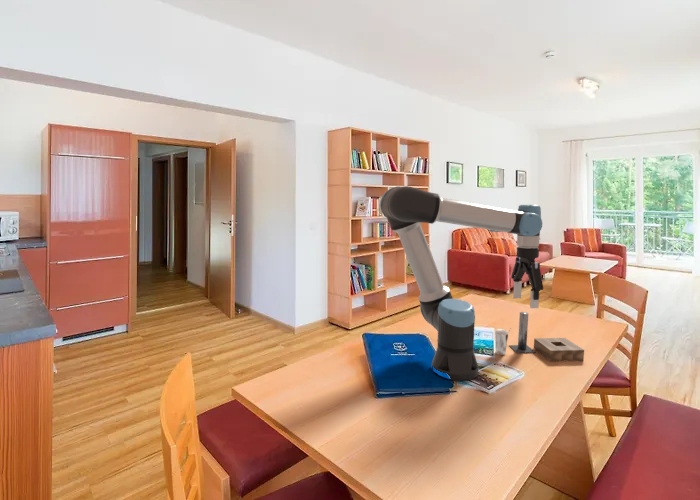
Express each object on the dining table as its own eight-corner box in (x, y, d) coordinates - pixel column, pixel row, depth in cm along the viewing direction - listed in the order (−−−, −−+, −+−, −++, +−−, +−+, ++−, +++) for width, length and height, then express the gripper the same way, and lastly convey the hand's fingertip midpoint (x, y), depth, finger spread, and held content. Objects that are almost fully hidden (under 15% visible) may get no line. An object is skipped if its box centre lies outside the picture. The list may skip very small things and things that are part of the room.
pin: (520, 350, 150) (522, 314, 148) (516, 347, 153) (518, 312, 151) (527, 350, 150) (529, 314, 148) (524, 347, 153) (526, 311, 151)
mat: (517, 353, 148) (517, 352, 148) (509, 346, 155) (509, 345, 155) (535, 353, 148) (535, 352, 148) (526, 345, 155) (526, 344, 155)
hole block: (550, 361, 140) (550, 350, 140) (533, 348, 152) (534, 338, 152) (583, 360, 141) (584, 349, 140) (564, 347, 153) (565, 337, 152)
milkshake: (510, 356, 145) (512, 329, 144) (495, 355, 146) (496, 329, 145) (508, 351, 150) (509, 325, 148) (493, 350, 151) (494, 325, 149)
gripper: (556, 251, 133) (553, 312, 136) (522, 242, 158) (520, 294, 161) (534, 251, 133) (531, 312, 136) (503, 242, 158) (501, 294, 161)
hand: (525, 302), depth 149 cm, fingers open, 13 cm apart
